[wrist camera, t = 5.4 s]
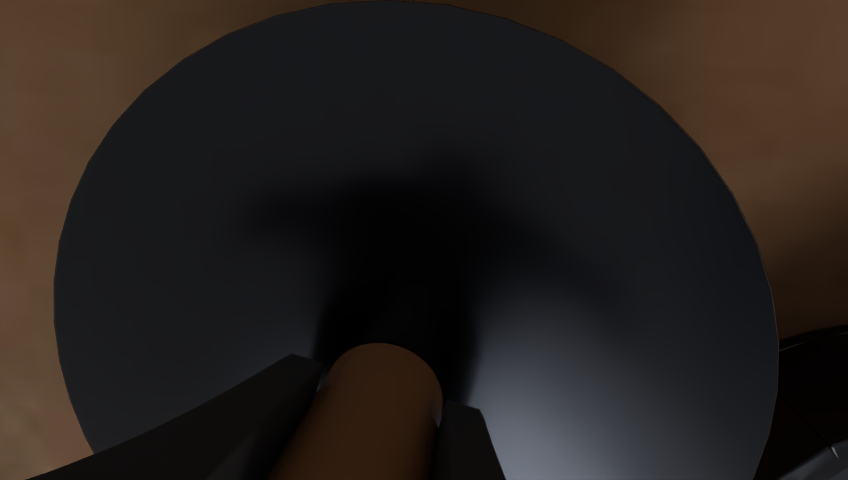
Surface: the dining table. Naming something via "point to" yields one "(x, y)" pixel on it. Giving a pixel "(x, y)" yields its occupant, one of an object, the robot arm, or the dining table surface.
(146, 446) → the robot arm
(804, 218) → the dining table surface
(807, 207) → the dining table surface
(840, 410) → the pan
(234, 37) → the pan lid
